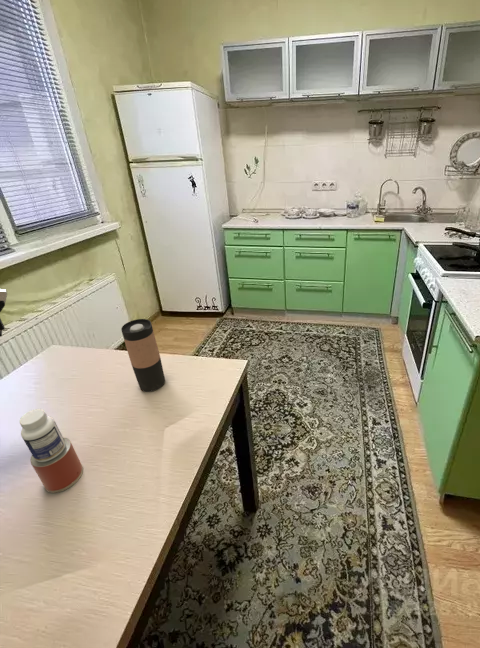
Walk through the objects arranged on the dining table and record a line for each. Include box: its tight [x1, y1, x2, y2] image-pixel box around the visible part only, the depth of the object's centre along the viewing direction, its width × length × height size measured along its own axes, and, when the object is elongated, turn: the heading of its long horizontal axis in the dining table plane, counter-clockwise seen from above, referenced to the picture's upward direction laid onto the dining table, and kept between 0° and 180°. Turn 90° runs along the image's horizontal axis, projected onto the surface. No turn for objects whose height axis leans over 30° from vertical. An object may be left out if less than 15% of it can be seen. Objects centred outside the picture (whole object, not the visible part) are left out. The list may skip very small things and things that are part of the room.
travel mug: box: [120, 318, 166, 393], centre depth 91 cm, size 8×8×20 cm
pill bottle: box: [19, 408, 65, 462], centre depth 64 cm, size 5×5×10 cm
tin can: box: [30, 437, 84, 494], centre depth 68 cm, size 7×7×8 cm
